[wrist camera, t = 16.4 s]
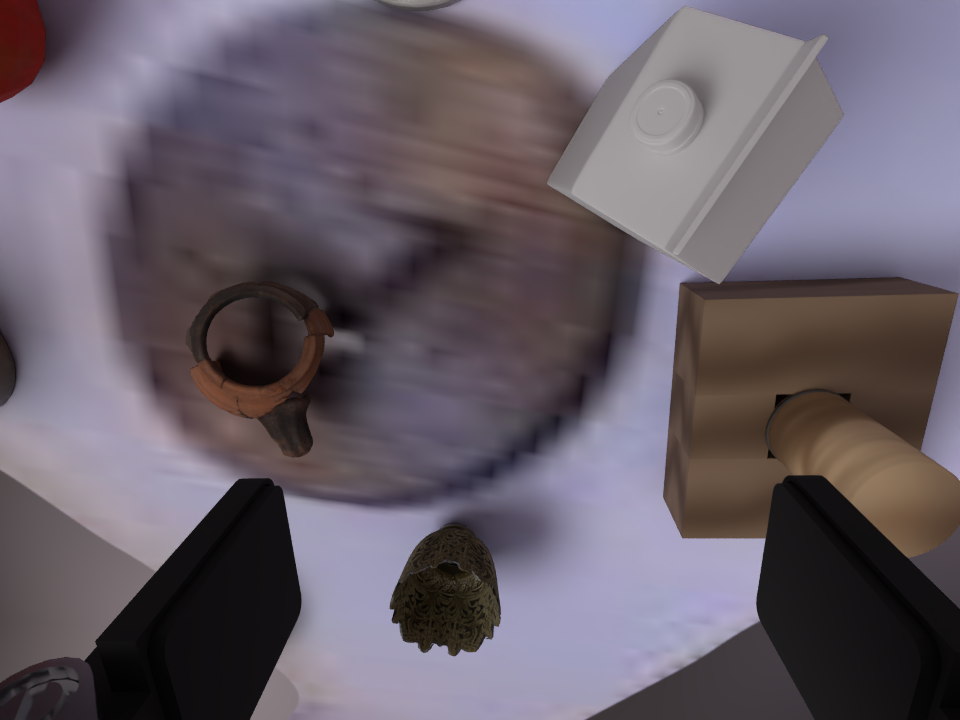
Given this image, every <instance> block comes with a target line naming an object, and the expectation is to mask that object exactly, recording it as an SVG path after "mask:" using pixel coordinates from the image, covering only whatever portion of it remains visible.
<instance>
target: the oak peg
mask: <svg viewBox="0 0 960 720" xmlns="http://www.w3.org/2000/svg"><path fill="white" fill-rule="evenodd" d="M765 438H766V443H767V446H768V448H769V450H770V451H771V453H772V454H773V455H774V456H775V457H776V458H777V459H778V460H779V461H780V462H781V463H782V464H783V465H784V466H785V467H786V468H787V469H788V470H789V471H790V472H791V473H792V475H821V476H823V477H825V478H826V479H827V480H828V481H829V482H830V483H831V484H832V485H833V486H834V487H835V488H836V489H837V490H838V491H839V492H840V493H841V494H842V495H844V496H845V497H846V498H847V499H848V500H849V501H850V502H851V503H852V504H853V505H854V506H855V507H856V508H857V509H858V510H859V511H860V512H861V513H862V514H863V515H864V516H865V517H866V518H867V519H868V520H869V521H870V522H871V523H872V524H873V525H874V526H875V527H876V528H877V529H878V530H879V531H880V532H881V533H882V534H883V535H884V536H885V537H886V538H887V539H889V540H890V541H891V542H892V543H893V544H894V545H895V546H896V547H897V548H898V549H899V550H900V551H901V552H902V553H903V554H904V555H905V556H906V557H907V558H909V557H913V556H917V555H920V554H923V553H926V552H928V551H930V550H932V549H934V548H935V547H937V546H939V545H940V544H942V543H943V542H944V541H946V540H947V539H948V538H949V537H950V536H951V535H952V534H953V533H954V531H955V530H956V529H957V527H958V526H959V525H960V481H959V480H958V478H957V477H956V476H955V475H954V474H952V473H951V472H950V471H948V470H947V469H945V468H944V467H942V466H941V465H939V464H938V463H936V462H935V461H934V460H932V459H931V458H929V457H928V456H926V455H925V454H923V453H922V452H920V451H919V450H918V449H916V448H915V447H913V446H912V445H910V444H909V443H907V442H906V441H904V440H903V439H902V438H900V437H899V436H897V435H896V434H894V433H893V432H891V431H890V430H888V429H887V428H885V427H884V426H883V425H881V424H880V423H878V422H877V421H875V420H874V419H872V418H871V417H869V416H868V415H867V414H865V413H864V412H862V411H861V410H859V409H858V408H856V407H855V406H853V405H852V404H851V403H849V402H848V401H847V400H846V399H845V398H843V397H842V396H840V395H839V394H837V393H835V392H832V391H829V390H823V389H809V390H803V391H800V392H797V393H795V394H776V400H775V407H774V410H773V411H772V413H771V414H770V416H769V418H768V421H767V423H766V428H765Z"/></svg>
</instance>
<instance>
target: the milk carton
mask: <svg viewBox="0 0 960 720" xmlns="http://www.w3.org/2000/svg"><path fill="white" fill-rule="evenodd" d="M828 39H829V38H828V36H826V35H825V34H823V35H820V36H818V37H816V38H813V39H811V40H809V41H807V42H806V41H803V40H799V39H796V38H792V37H789V36H786V35H782V34H779V33H775V32H772V31H769V30H765V29H762V28H758V27H755V26H752V25H748V24H745V23H742V22H738V21H735V20H731V19H728V18H725V17H721V16H718V15H714V14H711V13H708V12H704V11H701V10H697V9H694V8H691V7H687V6H685V7H683V8H681V9H680V10H679V11H677V12H676V13H675V14H674V15H673V16H672V17H670V18H669V19H668V20H667V21H666V22H665V23H664V24H663V25H662V26H661V27H660V28H659V29H658V30H657V31H656V32H655V33H654V34H653V35H652V36H651V37H650V38H649V39H647V40H646V41H645V42H644V43H643V44H642V45H641V46H640V47H639V48H638V49H637V50H636V51H635V52H634V53H633V54H632V55H631V56H630V57H629V58H628V59H627V60H626V61H625V62H623V63H622V64H621V65H620V66H619V67H618V68H617V69H616V70H615V71H614V72H613V73H612V74H611V75H610V76H609V77H608V78H607V80H606V81H605V83H604V85H603V86H602V88H601V90H600V92H599V93H598V95H597V97H596V98H595V100H594V102H593V103H592V105H591V107H590V109H589V110H588V112H587V114H586V115H585V117H584V119H583V121H582V122H581V124H580V126H579V127H578V129H577V131H576V133H575V134H574V136H573V138H572V139H571V141H570V143H569V145H568V146H567V148H566V150H565V151H564V153H563V155H562V157H561V158H560V160H559V162H558V163H557V165H556V167H555V169H554V170H553V172H552V174H551V175H550V177H549V179H548V181H547V184H548V185H549V186H551V187H552V188H554V189H556V190H557V191H559V192H561V193H562V194H564V195H565V196H567V197H569V198H570V199H572V200H574V201H575V202H577V203H579V204H580V205H582V206H583V207H585V208H587V209H588V210H590V211H592V212H593V213H595V214H596V215H598V216H600V217H601V218H603V219H605V220H606V221H608V222H610V223H611V224H613V225H614V226H616V227H618V228H619V229H621V230H623V231H624V232H626V233H628V234H629V235H631V236H632V237H634V238H636V239H637V240H639V241H641V242H643V243H645V244H646V245H648V246H650V247H652V248H654V249H656V250H657V251H659V252H661V253H663V254H665V255H667V256H668V257H670V258H672V259H674V260H676V261H677V262H679V263H681V264H683V265H685V266H687V267H688V268H690V269H692V270H694V271H696V272H698V273H699V274H701V275H703V276H705V277H707V278H709V279H710V280H712V281H714V282H716V283H718V284H720V283H721V282H722V281H723V280H724V278H725V277H726V276H727V274H728V273H729V272H730V270H731V269H732V268H733V266H734V265H735V264H736V262H737V261H738V260H739V258H740V257H741V255H742V254H743V253H744V251H745V250H746V249H747V247H748V246H749V245H750V243H751V242H752V240H753V239H754V238H755V236H756V235H757V234H758V232H759V231H760V230H761V228H762V227H763V226H764V224H765V223H766V221H767V220H768V219H769V217H770V216H771V215H772V213H773V212H774V211H775V209H776V208H777V206H778V205H779V204H780V202H781V201H782V200H783V198H784V197H785V196H786V194H787V193H788V191H789V190H790V189H791V187H792V186H793V185H794V183H795V182H796V181H797V179H798V178H799V177H800V175H801V174H802V172H803V171H804V170H805V168H806V167H807V166H808V164H809V163H810V162H811V160H812V159H813V157H814V156H815V155H816V153H817V152H818V151H819V149H820V148H821V147H822V145H823V144H824V142H825V141H826V140H827V138H828V137H829V136H830V134H831V133H832V132H833V130H834V129H835V127H836V126H837V125H838V123H839V122H840V120H841V119H842V117H843V115H844V114H843V111H842V109H841V107H840V105H839V103H838V101H837V99H836V97H835V95H834V93H833V91H832V89H831V87H830V85H829V83H828V81H827V79H826V77H825V74H824V72H823V70H822V68H821V66H820V64H819V62H818V60H817V58H816V56H817V55H818V53H819V52H820V50H821V49H822V47H823V46H824V45H825V43H826V42H827V40H828Z"/></svg>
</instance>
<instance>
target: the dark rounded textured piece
mask: <svg viewBox="0 0 960 720" xmlns="http://www.w3.org/2000/svg"><path fill="white" fill-rule="evenodd" d="M390 609H394V613H393V617H392V622H393V623H396V624H397V623H398V621H399V625H400V633H401V636H402V639H403V641H405V642H408V643H415V642H416V643H418V648H419V649H420V650H421V652H423V653H426V652H428V651H429V650H430V649H431V648H432V646H433V645H434V644H432V643H435V644H437V645H438V646H439V647H441V646H442V645H446V646H447V647H448V651H449V652H448V654H449V655H452V656H456V655H457V654H458V653H459V652H460V650H461V649H462V650H464V651H466V652H476V651H477V650H478V649H479V647H480V646H481V644H482V643H483V640H484V639H485V637H488V638H486V639H492V638H493V632H494V626H497V627H498V626H499V624H500V619H501V617H500V615H501V608H500V600H499V593H498V585H497V577H496V571H495V566H494V562H493V559H492V557H491V554H490V552H489V550H488V549H487V547H486V546H485V544H484V543H483V542H482V541H481V540H480V539H479V538H477V537H476V536H475V534H474V533H473V531H472V530H471V529H470V528H468V527H467V526H465V525H462V524H457V523H453V524H448V525H445V526H443V527H442V528H440V529H439V530H438V531H436V532H433V533H431V534H429V535H428V536H426V537H425V538H424V539H423V540H422V541H420V543H419V544H418V545H417V546H416V547H415V549H414V550H413V552H412V554H411V555H410V557H409V559H408V561H407V563H406V565H405V567H404V570H403V572H402V574H401V576H400V579H399V581H398V583H397V585H396V587H395V590H394V592H393V595H392V599H391V602H390ZM431 644H432V645H431ZM430 645H431V646H430ZM429 648H430V649H429Z"/></svg>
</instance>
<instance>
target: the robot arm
mask: <svg viewBox="0 0 960 720" xmlns="http://www.w3.org/2000/svg"><path fill="white" fill-rule="evenodd" d="M375 1H377V2H379V3H381V4H384V5H386V6H388V7H393V8H397V9H402V10H407V11H429V10H434V9H438V8H442V7H447V6H450V5H452V4H454V3H456V2H458V1H460V0H375ZM756 605H757V612H758V616H759V619H760V621H761V623H762V625H763V627H764V629H765V631H766V632H767V634H768V636H769V638H770V640H771V641H772V643H773V645H774V647H775V649H776V651H777V652H778V654H779V656H780V658H781V660H782V661H783V663H784V665H785V667H786V669H787V670H788V672H789V674H790V676H791V678H792V679H793V681H794V683H795V685H796V687H797V688H798V690H799V692H800V694H801V696H802V697H803V699H804V701H805V703H806V705H807V707H808V708H809V710H810V712H811V714H812V716H813V717H814V719H815V720H960V609H959V608H958V607H957V606H956V605H955V604H954V603H953V602H952V601H951V600H950V599H949V598H948V597H947V596H946V595H945V594H944V593H943V592H941V590H940V589H939V588H938V587H936V585H934V584H933V582H931V581H930V580H929V579H928V578H927V577H926V576H925V575H924V574H923V573H922V572H921V571H920V570H919V569H918V568H917V567H916V566H915V565H914V564H913V563H912V562H911V561H910V560H909V559H908V558H907V557H906V556H905V555H904V554H903V553H902V552H901V551H900V550H899V549H898V548H897V547H896V546H895V545H894V544H893V543H892V542H891V541H890V540H889V539H887V538H886V537H885V536H884V535H883V534H882V533H881V532H880V531H879V530H878V529H877V528H876V527H875V526H874V525H873V524H872V523H871V522H870V521H869V520H868V519H867V518H866V517H865V516H864V515H863V514H862V513H861V512H860V511H859V510H858V509H857V508H856V507H855V506H854V505H853V504H852V503H851V502H850V501H849V500H848V499H847V498H846V497H845V496H844V495H842V494H841V493H840V492H839V491H838V490H837V489H836V488H835V487H834V486H833V485H832V484H831V483H830V482H829V481H828V480H827V479H826V478H825V477H823V476H821V475H788V476H786V477H785V478H784V480H783V482H782V483H777V484H776V485H775V486H774V489H773V494H772V500H771V507H770V514H769V520H768V527H767V533H766V540H765V547H764V553H763V560H762V566H761V573H760V580H759V586H758V593H757V601H756ZM300 610H301V592H300V586H299V580H298V575H297V569H296V563H295V558H294V552H293V546H292V540H291V535H290V529H289V523H288V518H287V512H286V506H285V500H284V495H283V491H282V488H281V487H280V486H274V483H273V481H272V480H271V479H269V478H249V479H239V480H238V481H236V482H235V483H234V485H233V486H232V487H231V488H230V489H229V490H228V491H227V493H226V494H225V495H224V496H223V497H222V498H221V499H220V500H219V502H218V503H217V504H216V505H215V506H214V507H213V508H212V510H211V511H210V512H209V513H208V514H207V515H206V516H205V517H204V519H203V520H202V521H201V522H200V523H199V524H198V525H197V527H196V528H195V529H194V530H193V531H192V532H191V533H190V534H189V536H188V537H187V538H186V539H185V540H184V541H183V542H182V544H181V545H180V546H179V547H178V548H177V549H176V550H175V551H174V553H173V554H172V555H171V556H170V557H169V558H168V559H167V561H166V562H165V563H164V564H163V565H162V566H161V567H160V568H159V570H158V571H157V572H156V573H155V574H154V575H153V576H152V578H151V579H150V580H149V581H148V582H147V583H146V584H145V585H144V587H143V588H142V589H141V590H140V591H139V592H138V593H137V595H136V596H135V597H134V598H133V599H132V600H131V601H130V602H129V604H128V605H127V606H126V607H125V608H124V609H123V610H122V611H121V613H120V614H119V615H118V616H117V617H116V618H115V619H114V621H113V622H112V623H111V624H110V625H109V626H108V627H107V629H106V630H105V631H104V632H103V633H102V634H101V635H100V636H99V638H98V639H97V640H96V641H95V642H96V645H97V647H96V648H95V649H94V651H93V652H92V653H91V654H90V655H89V656H88V657H87V659H86V660H85V661H83V660H81V659H80V658H70V657H64V658H57V659H50V660H46V661H43V662H41V663H38V664H35V665H32V666H29V667H27V668H25V669H23V670H21V671H19V672H17V673H15V674H13V675H11V676H9V677H8V678H7V679H5V680H4V681H2V682H1V683H0V720H250V718H251V716H252V714H253V711H254V710H255V707H256V705H257V703H258V701H259V699H260V697H261V695H262V693H263V691H264V689H265V686H266V684H267V682H268V680H269V678H270V676H271V674H272V672H273V670H274V668H275V665H276V663H277V661H278V659H279V657H280V655H281V653H282V651H283V649H284V647H285V644H286V642H287V640H288V638H289V636H290V634H291V632H292V630H293V628H294V625H295V623H296V621H297V619H298V617H299V614H300Z"/></svg>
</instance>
